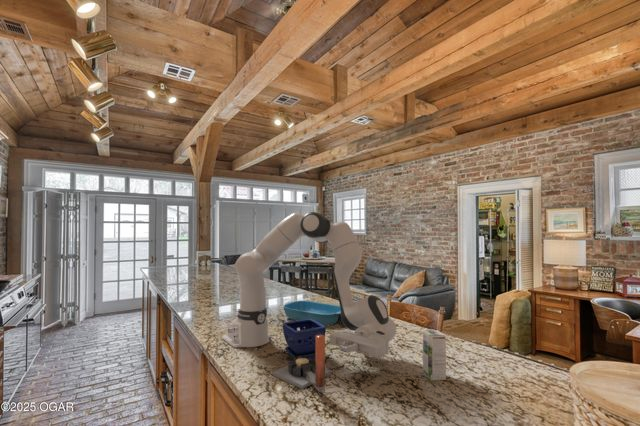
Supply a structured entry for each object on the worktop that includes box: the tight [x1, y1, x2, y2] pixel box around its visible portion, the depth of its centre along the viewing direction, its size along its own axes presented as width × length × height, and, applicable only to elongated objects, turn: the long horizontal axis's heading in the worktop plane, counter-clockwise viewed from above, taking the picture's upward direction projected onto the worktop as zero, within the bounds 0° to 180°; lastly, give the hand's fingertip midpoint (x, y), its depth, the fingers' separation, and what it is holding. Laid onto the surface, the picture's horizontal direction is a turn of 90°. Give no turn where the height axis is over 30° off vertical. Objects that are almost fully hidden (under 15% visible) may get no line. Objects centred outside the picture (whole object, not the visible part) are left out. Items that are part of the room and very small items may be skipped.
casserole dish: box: [282, 300, 341, 327], centre depth 173 cm, size 37×22×7 cm, turn 58°
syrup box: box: [422, 329, 447, 381], centre depth 105 cm, size 6×6×14 cm
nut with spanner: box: [287, 335, 326, 393], centre depth 101 cm, size 21×9×16 cm, turn 24°
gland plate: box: [272, 358, 332, 390], centre depth 106 cm, size 14×14×4 cm
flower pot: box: [282, 319, 327, 359], centre depth 123 cm, size 13×13×12 cm
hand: (343, 349), depth 102 cm, fingers closed
